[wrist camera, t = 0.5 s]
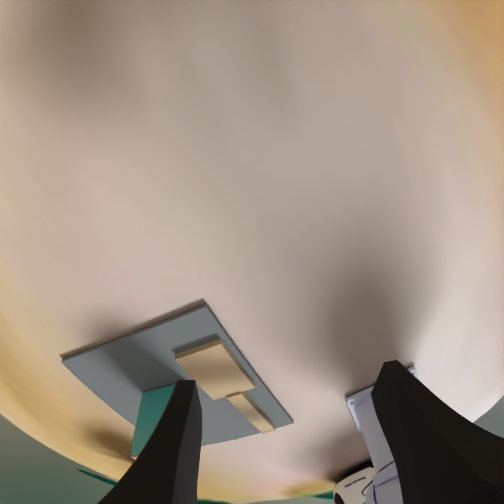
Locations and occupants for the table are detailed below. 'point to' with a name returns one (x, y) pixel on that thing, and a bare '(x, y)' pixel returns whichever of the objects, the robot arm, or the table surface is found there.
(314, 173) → the table surface
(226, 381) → the turner
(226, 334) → the mat
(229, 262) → the table surface
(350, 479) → the milk container
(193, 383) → the robot arm
